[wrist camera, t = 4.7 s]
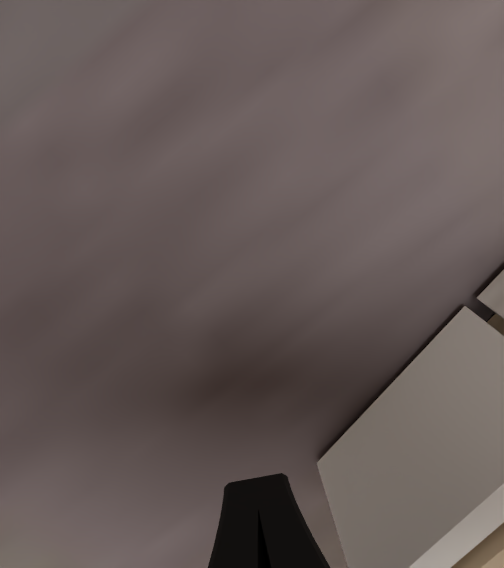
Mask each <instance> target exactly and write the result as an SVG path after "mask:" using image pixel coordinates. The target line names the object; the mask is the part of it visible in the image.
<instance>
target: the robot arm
mask: <svg viewBox="0 0 504 568" xmlns="http://www.w3.org/2000/svg"><path fill="white" fill-rule="evenodd" d="M208 568H330V566H329V564H328V563H327V561H326V559H325V557H324V556H323V554H322V552H321V550H320V548H319V547H318V545H317V543H316V541H315V540H314V538H313V536H312V534H311V532H310V530H309V528H308V526H307V524H306V522H305V520H304V518H303V516H302V514H301V512H300V509H299V507H298V505H297V503H296V500H295V498H294V495H293V493H292V490H291V487H290V484H289V481H288V477H287V476H286V475H284V474H282V473H280V474H275V475H269V476H264V477H258V478H253V479H247V480H242V481H236V482H231V483H228V484H227V485H226V486H225V488H224V497H223V504H222V510H221V516H220V521H219V526H218V530H217V534H216V539H215V543H214V547H213V551H212V555H211V558H210V562H209V566H208Z"/></svg>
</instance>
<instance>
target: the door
mask: <svg viewBox="0 0 504 568" xmlns="http://www.w3.org/2000/svg"><path fill="white" fill-rule="evenodd" d="M316 464H317V467H318V470H319V473H320V477H321V480H322V483H323V487H324V490H325V493H326V497H327V500H328V503H329V507H330V510H331V513H332V517H333V520H334V523H335V526H336V530H337V533H338V536H339V540H340V543H341V546H342V550H343V553H344V556H345V560H346V563H347V566H348V568H451V567H452V566H453V565H454V564H455V563H457V562H458V561H459V560H460V559H461V558H463V557H464V556H465V555H466V554H467V553H468V552H470V551H471V550H472V549H473V548H474V547H475V546H477V545H478V544H479V543H480V542H481V541H482V540H484V539H485V538H486V537H487V536H488V535H489V534H491V533H492V532H493V531H494V530H495V529H497V528H498V527H499V526H500V525H501V524H502V523H504V335H502V334H501V333H500V332H498V331H497V330H496V329H495V328H493V327H492V326H491V325H490V324H488V323H487V322H486V321H484V320H483V319H482V318H480V317H479V316H478V315H476V314H475V313H474V312H472V311H471V310H470V309H469V308H467V307H466V306H464V307H463V308H462V309H461V310H460V311H459V313H458V314H457V315H456V316H455V317H454V318H453V319H452V320H451V321H450V322H449V323H448V324H447V325H446V326H445V327H444V328H443V329H442V331H441V332H440V333H439V334H438V335H437V336H436V337H435V338H434V339H433V340H432V341H431V342H430V343H429V344H428V345H427V346H426V348H425V349H424V350H423V351H422V352H421V353H420V354H419V355H418V356H417V357H416V358H415V359H414V360H413V361H412V362H411V363H410V364H409V366H408V367H407V368H406V369H405V370H404V371H403V372H402V373H401V374H400V375H399V376H398V377H397V378H396V379H395V380H394V381H393V383H392V384H391V385H390V386H389V387H388V388H387V389H386V390H385V391H384V392H383V393H382V394H381V395H380V396H379V397H378V398H377V399H376V401H375V402H374V403H373V404H372V405H371V406H370V407H369V408H368V409H367V410H366V411H365V412H364V413H363V414H362V415H361V416H360V418H359V419H358V420H357V421H356V422H355V423H354V424H353V425H352V426H351V427H350V428H349V429H348V430H347V431H346V432H345V433H344V434H343V436H342V437H341V438H340V439H339V440H338V441H337V442H336V443H335V444H334V445H333V446H332V447H331V448H330V449H329V450H328V451H327V453H326V454H325V455H324V456H323V457H322V458H321V459H320V460H319V461H318V462H317V463H316Z"/></svg>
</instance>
